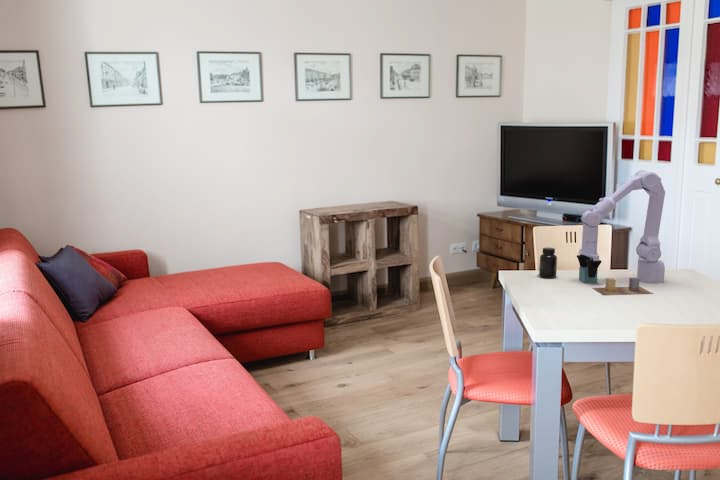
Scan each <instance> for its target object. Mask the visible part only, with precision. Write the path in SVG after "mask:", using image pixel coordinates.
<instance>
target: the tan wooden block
mask: <svg viewBox="0 0 720 480" xmlns="http://www.w3.org/2000/svg"><path fill="white" fill-rule="evenodd" d="M616 284H617V280H616V279H615V278H613V277H611V278H610V277H609V278H607V277H606V278H605V290H606V291H607V292H615V287H617V286H616Z"/></svg>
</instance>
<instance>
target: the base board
mask: <svg viewBox="0 0 720 480" xmlns="http://www.w3.org/2000/svg"><path fill="white" fill-rule="evenodd" d="M605 287H606V286H605ZM605 287H591V289H592V290H594V291H596V292H597V293H599V294H600V295H602V296H625V295H626V296H630V295H632V296H633V295H636V296H637V295H654V292H651V291H649V290H648V289H645V288H644V287H642V286H640V285H639V291H630V290H629V286H615V292H607V291H606V290H605Z"/></svg>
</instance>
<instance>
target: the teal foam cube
mask: <svg viewBox="0 0 720 480" xmlns="http://www.w3.org/2000/svg"><path fill="white" fill-rule="evenodd" d="M598 270H599V269H597V272H596V275H595V277H594V278H589V275H588V267H580V266H579V269H578V272H579V273H578V280H579V281H580V282H582V283H583V284H592V283H593V284H594V283H595V284H596V283H598Z"/></svg>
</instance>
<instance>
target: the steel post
mask: <svg viewBox="0 0 720 480" xmlns="http://www.w3.org/2000/svg"><path fill="white" fill-rule="evenodd" d="M628 280H629V281H628V287H629V290H630V291H639V286H640V282H639V279H638V278H637V277H629V279H628Z"/></svg>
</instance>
